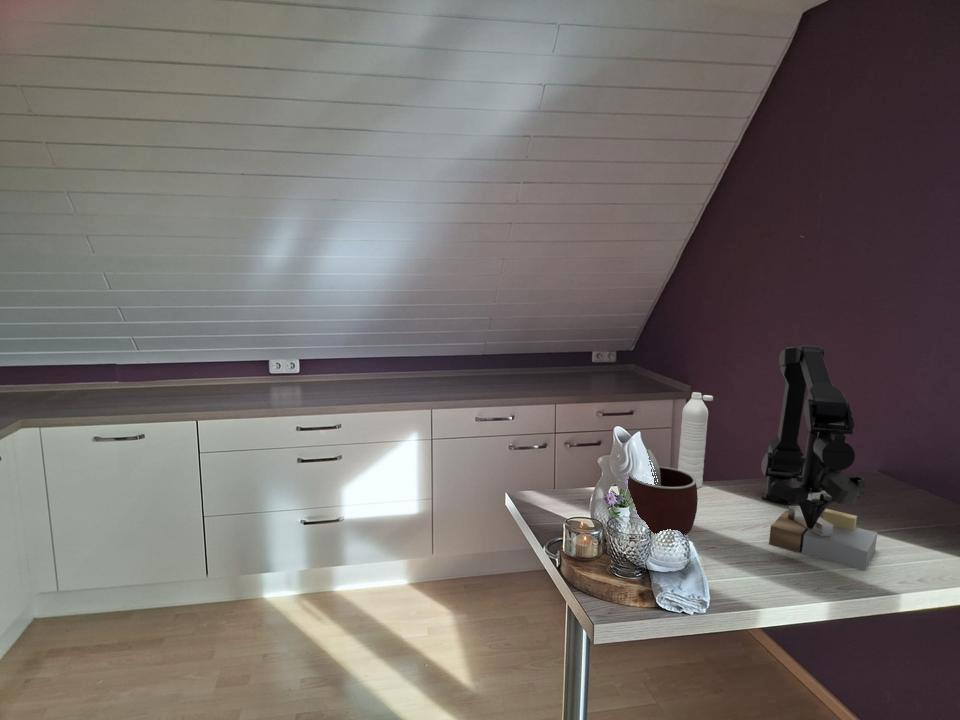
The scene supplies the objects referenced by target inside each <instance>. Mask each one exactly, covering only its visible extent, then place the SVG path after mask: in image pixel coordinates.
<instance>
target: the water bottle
mask: <svg viewBox="0 0 960 720" xmlns="http://www.w3.org/2000/svg"><path fill="white" fill-rule="evenodd" d="M704 401H706V402H707V401H708V402H709V401H710V402H712V401H714V396H713V395H709V394H708V395H707V394H704V395H702V393H701V392H698V391H695V392H693V391H692V393H691V398H690V399H689V400H688V401H687V402H686V404H685V405H684V407H683V409H682V413H681V418H682V419H681V428H680V430H681V431H680V437H679V451H678V452H679V453H678V463H677V469H678V470H681V471H684V472H687V473H689V474H691V475H692V476H694V477H695V478H696V486H697V489H698V488H699V489H700V488H701V487H702V486H703V481H704V480H703V478H704V477H703V476H704V468H705V462H704V461H705V456H706V455H705V454H706V445H707V444H706V443H707V433H708V432H707V430H708V420H709V409H708V408H707V406H706V404H705V402H704Z"/></svg>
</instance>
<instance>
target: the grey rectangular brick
mask: <svg viewBox="0 0 960 720" xmlns="http://www.w3.org/2000/svg"><path fill="white" fill-rule="evenodd" d="M822 515H823V516H822V519H823V520H825V521H827V522H829V523H831V524H832V525H833V531H832V536H825V537H821V536H820V535H818V534H816V533H815V532H813V531H811V530H810V529H808V530H807V532H806V533H805V534H804V538H803V547H802V549H801V554H803V555H806V556H810V557H814V558H817V559H821V560H825V561H828V562H832V563H835V564H838V565H842V566H846V567H849V568H853V569H857V570H860V571H864V572H865V571H866V570H867V567H868V566H869V564H870V561H871V560H872V558H873V555H874V554H875V551H876V545H877V537H878V532H876V531H872V530H867V529H863V528H861V527H856V526H857V518H858V516H857V515H854V514H850V513H846V512H842V511H841V512H840V511H837V510H832V509H829V508H825V509H824V510H823V512H822Z"/></svg>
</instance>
